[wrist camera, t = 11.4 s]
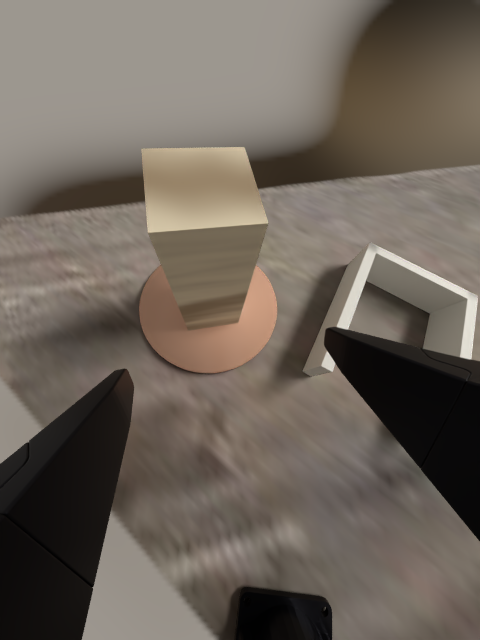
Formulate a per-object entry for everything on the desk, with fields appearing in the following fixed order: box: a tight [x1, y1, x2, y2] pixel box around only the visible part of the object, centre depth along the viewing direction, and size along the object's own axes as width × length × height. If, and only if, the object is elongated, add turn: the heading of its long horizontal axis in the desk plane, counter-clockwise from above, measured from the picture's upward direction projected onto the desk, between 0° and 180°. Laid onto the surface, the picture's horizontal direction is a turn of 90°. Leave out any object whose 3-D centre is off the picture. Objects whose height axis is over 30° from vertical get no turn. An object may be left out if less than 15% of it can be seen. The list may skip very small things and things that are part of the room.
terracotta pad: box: [139, 265, 277, 373], centre depth 22 cm, size 14×14×1 cm
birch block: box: [142, 147, 268, 331], centre depth 16 cm, size 5×5×13 cm
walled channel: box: [302, 242, 478, 377], centre depth 21 cm, size 15×12×4 cm
